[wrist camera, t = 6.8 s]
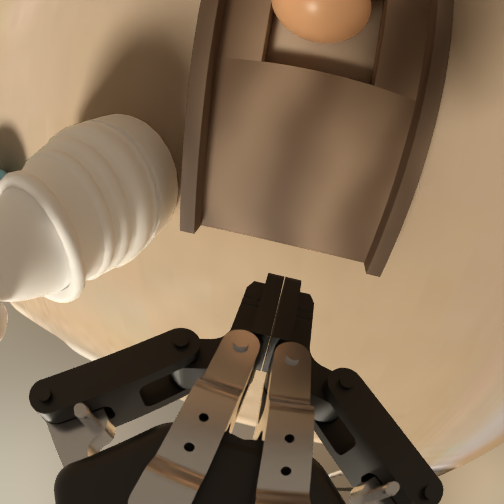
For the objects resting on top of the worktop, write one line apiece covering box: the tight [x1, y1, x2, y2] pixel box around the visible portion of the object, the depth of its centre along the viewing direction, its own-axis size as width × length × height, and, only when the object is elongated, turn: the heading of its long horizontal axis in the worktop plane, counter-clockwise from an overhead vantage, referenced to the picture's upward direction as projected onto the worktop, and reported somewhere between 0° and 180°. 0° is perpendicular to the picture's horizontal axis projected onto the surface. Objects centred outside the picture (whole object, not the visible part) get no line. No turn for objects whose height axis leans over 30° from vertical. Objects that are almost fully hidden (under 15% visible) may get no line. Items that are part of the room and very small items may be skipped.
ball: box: [271, 0, 371, 43], centre depth 11 cm, size 6×6×6 cm
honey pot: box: [0, 114, 179, 341], centre depth 17 cm, size 13×13×18 cm
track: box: [180, 0, 454, 277], centre depth 15 cm, size 16×28×3 cm, turn 172°
